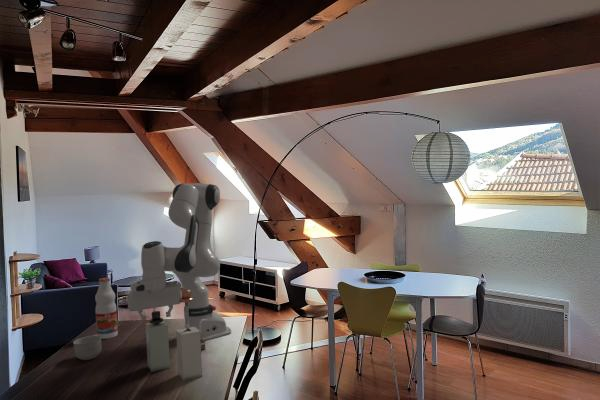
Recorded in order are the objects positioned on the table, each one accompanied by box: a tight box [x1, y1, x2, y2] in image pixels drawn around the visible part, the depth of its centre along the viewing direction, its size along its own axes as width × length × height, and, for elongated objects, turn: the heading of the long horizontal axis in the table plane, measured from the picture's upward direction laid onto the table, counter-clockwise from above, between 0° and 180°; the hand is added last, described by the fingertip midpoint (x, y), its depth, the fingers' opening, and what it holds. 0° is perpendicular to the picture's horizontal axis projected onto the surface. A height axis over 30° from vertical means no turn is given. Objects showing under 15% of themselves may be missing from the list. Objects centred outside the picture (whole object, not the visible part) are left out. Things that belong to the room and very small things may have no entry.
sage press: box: [145, 320, 171, 373], centre depth 192 cm, size 7×7×17 cm
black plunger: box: [148, 310, 164, 325], centre depth 192 cm, size 5×5×18 cm
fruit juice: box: [94, 277, 119, 340], centre depth 236 cm, size 9×9×28 cm
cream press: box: [175, 327, 203, 382], centre depth 182 cm, size 7×7×17 cm
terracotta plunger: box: [179, 289, 194, 332], centre depth 182 cm, size 5×5×18 cm
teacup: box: [72, 334, 103, 361], centre depth 208 cm, size 14×11×8 cm
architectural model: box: [200, 333, 207, 350], centre depth 209 cm, size 3×7×7 cm, turn 119°
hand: (156, 318), depth 192 cm, fingers open, 8 cm apart
